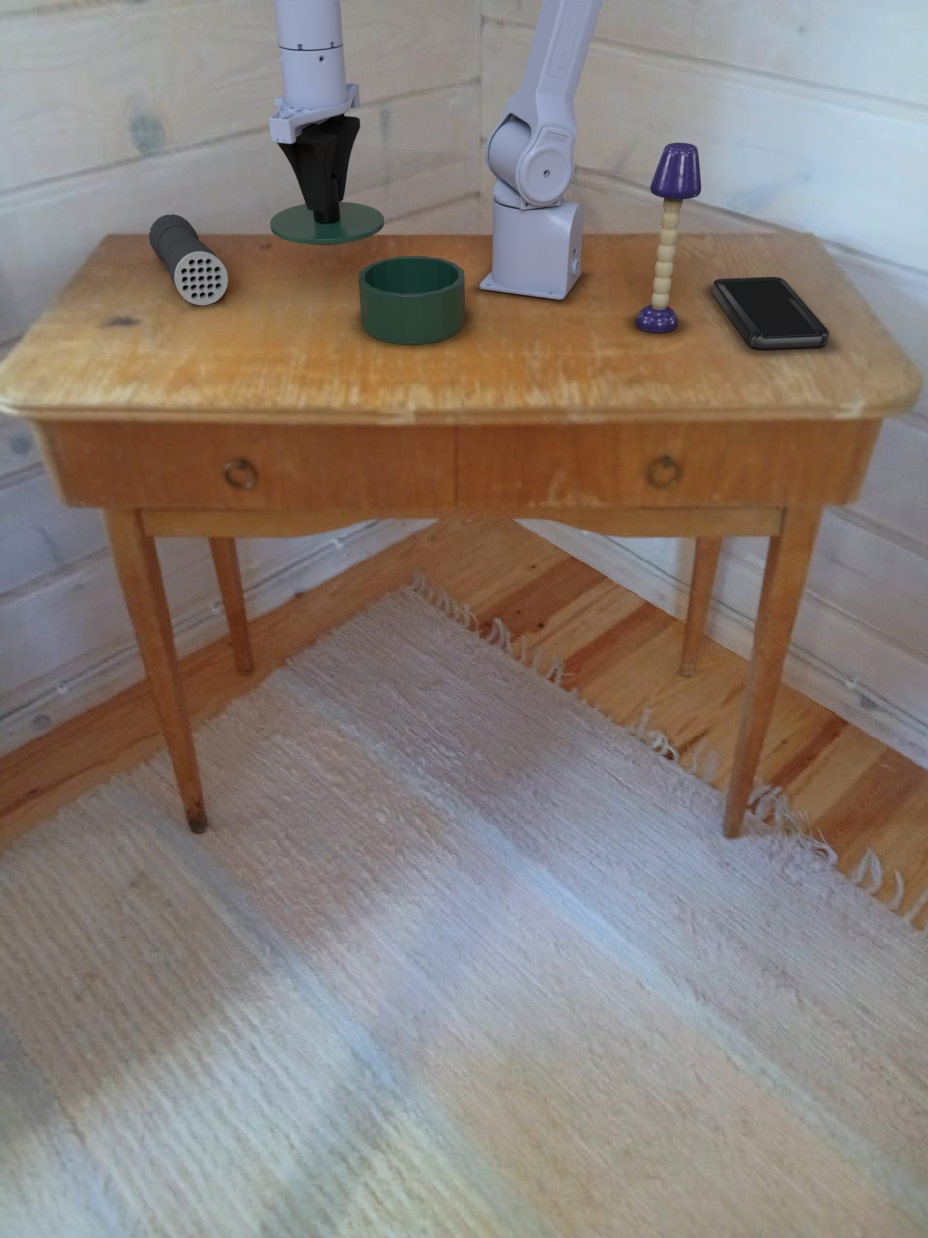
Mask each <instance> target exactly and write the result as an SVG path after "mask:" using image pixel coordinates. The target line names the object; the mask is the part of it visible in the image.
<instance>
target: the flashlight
mask: <svg viewBox="0 0 928 1238" xmlns="http://www.w3.org/2000/svg"><path fill="white" fill-rule="evenodd" d="M148 240H149V245H150V247H151V248H152V250H153V252H154V253H155V255H156V256H157V258H158V259H159V260H160V261H161V262H162V263H165V268H166V270H167V272H168V274H169V277H170V279H171V282H172V284H173V285H174V287H175V289H176V290H177V291H178V293H179V294H180V296H181V297H182V298H183V299H184V300H185V301H187V302H188V303H191V304H193V305H197V306H206V305H212V304H213V303H214V304H215V303H216V302H217V301H219V300H220V299H221V298H222V297H223V296H224V294H225V292H226V291H227V288H228V285H229V283H228V282H229V277H228V272H227V268H226V267H225V265H224V263H223V262H222V260H220V258H219V257H218V256H217V254H216V253H215V252H214V251H213V250H212V249H211V248H210V247H208V246H207V245H206V244H205V243H204V242H203V241H201V240H200V238H199V235H198V232H197V231H196V229H195V228H194V227H193V225H192V224H191V223H190V222H189V221H188V220H187V219H186V218H185V217H183V216H181V215H178V214H173V213H172V214H164V215H161V216H160V217H158V218H157V219H156V220H155V221H154V222H153V223H152V224H151V227H150V228H149V233H148Z"/></svg>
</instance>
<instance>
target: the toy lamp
mask: <svg viewBox="0 0 928 1238" xmlns="http://www.w3.org/2000/svg"><path fill="white" fill-rule="evenodd" d="M652 177H653V178H652V180H651V183H650V188H649V190H650V192H651V194H652V195H654V196H656V197H658V198H659V197H660V198H662V199H663V202H662V206H663V212H662V214H661V218H660V224H661V228H660V230H659V234H658V241H659V244H658V245H657V248H656V259H657V261H656V262H655V265H654V275H655V276H654V279H653V282H652V289H653V293H652V295H651V298H650V303H651V304H649V305H646V306H644V307H643V308H641V310H640V311H639V312H638V314H637V316H636V318H635V322H634V323H635V326H636V327H637V328H638V329H640V330H641V331H645V332H650V333H656V334H657V333H667V332H672V331H674V330H675V329H676V330H677V328H678V325H679V320H678V316H677V314H676V312H675V310H674V309H673V308H672V307H670V306H669V303H670V293H669V292H670V290H671V288H672V277H671V276H672V274H673V272H674V261H673V260H674V259H675V256H676V245H675V244H676V242H677V240H678V237H679V231H678V227H679V225H680V221H681V213H680V210H681V209H682V208H683V207H682V206H683V204H684V203H683V201H684V200H690V199H694V198H697V197H699V196H700V194H701V192H702V179H701V168H700V156H699V150H698V146H696V145H695V144H692V143H688V142H670V143H668V144H666V145H665V147H663V150H662V153H661V155H660V158H659V160H658V164H657V166H656V169H655V171H654V174H653V176H652Z"/></svg>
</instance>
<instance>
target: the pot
mask: <svg viewBox="0 0 928 1238" xmlns="http://www.w3.org/2000/svg"><path fill="white" fill-rule="evenodd" d="M465 276H466V275H465V270H464V269H463V268H462V267H460V266H459V265H458V264H457V263H455V262H452V261H450V260H446V259H444V258H440V257H434V256H426V255H400V256H396V257H395V256H394V257H389V258H383V259H379V260H378V261H375V262H372V263H370V264H368V265H366V266H365V267H364V268H363V269H362V270H361V271H359V273H358V293H359V304H360V316H361V317H360V318H361V325H362V328H363V331H365V333H366V334H368V335H369V336H370V337H372V338H374V339H376V340H379V341H382V342H385V343H390V344H396V345H405V346H406V345H408V346H412V345H413V346H416V345H417V346H418V345H428V344H433V343H438V342H440V341H445V340H447V339H450V338H452V337H454V336H456V335H457V334H458V333H460V332H461V331H462V329H463V328H464V326H465V322H466V281H465V280H466V278H465Z"/></svg>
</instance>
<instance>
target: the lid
mask: <svg viewBox="0 0 928 1238" xmlns="http://www.w3.org/2000/svg"><path fill="white" fill-rule="evenodd" d="M384 226H385V217H384V215H383V213H382V212H381V211H380V210H378V209H377V208H375V207H373V206H370V205H367V204H362V203H358V202H357V203H356V202H351V201H349V202H348V201H341V202H339V196H338V184H337V176H336V175H335V174H331V202H330V209H329V210H328V211H327V212H321V211H313V210H308V208H307V206H306V203H303V204H298V205H295V206H291V207H288V208H285V209H283V210H281V211H278V212H277V213H276V214H274V215H273V216H272V217H271V218H270V221H269V227H270V228H269V229H270V231H271V232H272V234H274V235H275V236H276V237H278V238H280V239H282V240H284V241H288V242H291V243H296V244H301V245H312V246H334V245H335V246H336V245H343V244H348V243H352V242H353V243H354V242H357V241H361V240H364V239H367V238H369V237H373V236H374V235H376V234H377V233H379V232H380V231H381V230H382V229H383V228H384Z"/></svg>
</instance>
